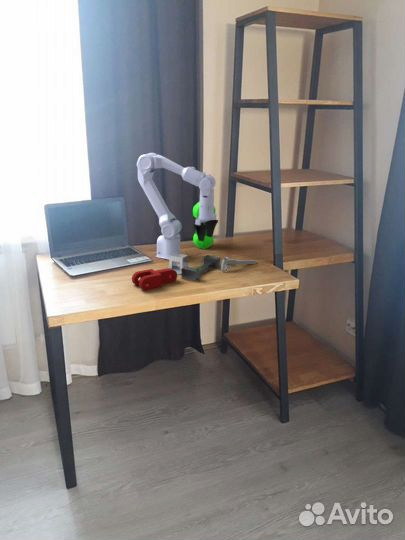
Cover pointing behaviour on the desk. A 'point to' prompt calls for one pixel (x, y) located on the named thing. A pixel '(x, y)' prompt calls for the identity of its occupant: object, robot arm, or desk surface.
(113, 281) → the desk surface
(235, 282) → the desk surface
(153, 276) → the mechanical linkage
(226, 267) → the caliper
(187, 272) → the vise
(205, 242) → the plastic bottle
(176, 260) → the white block
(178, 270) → the mat
